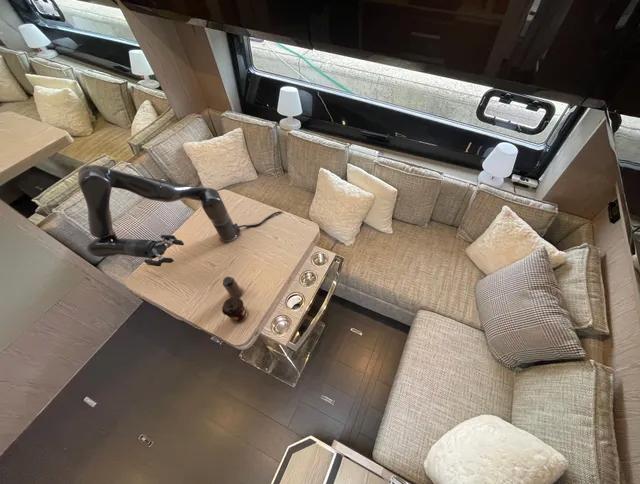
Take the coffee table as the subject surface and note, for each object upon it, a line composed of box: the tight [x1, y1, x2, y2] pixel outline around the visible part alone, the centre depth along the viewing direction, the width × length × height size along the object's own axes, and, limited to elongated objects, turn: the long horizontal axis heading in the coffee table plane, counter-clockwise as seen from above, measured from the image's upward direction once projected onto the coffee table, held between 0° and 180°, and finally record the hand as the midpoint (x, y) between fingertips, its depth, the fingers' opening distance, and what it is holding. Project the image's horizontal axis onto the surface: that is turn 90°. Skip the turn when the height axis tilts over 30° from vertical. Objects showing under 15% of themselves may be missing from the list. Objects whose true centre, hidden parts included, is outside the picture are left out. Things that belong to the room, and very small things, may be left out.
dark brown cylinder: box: [221, 297, 248, 323], centre depth 123 cm, size 9×8×13 cm
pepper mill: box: [222, 276, 243, 298], centre depth 130 cm, size 5×5×14 cm
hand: (178, 251), depth 117 cm, fingers open, 8 cm apart
